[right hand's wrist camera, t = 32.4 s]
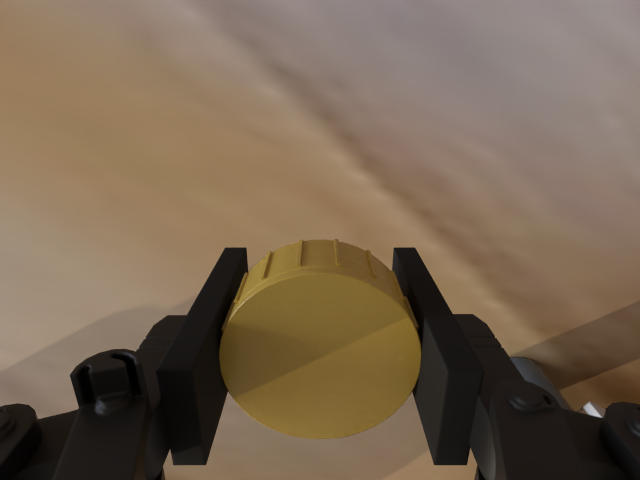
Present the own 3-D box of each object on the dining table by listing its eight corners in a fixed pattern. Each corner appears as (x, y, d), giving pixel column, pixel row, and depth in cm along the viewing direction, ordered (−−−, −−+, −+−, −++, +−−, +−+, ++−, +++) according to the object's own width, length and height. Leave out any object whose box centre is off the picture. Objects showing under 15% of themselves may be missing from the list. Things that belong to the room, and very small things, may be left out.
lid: (443, 320, 13) (467, 368, 10) (317, 412, 14) (316, 470, 12) (325, 199, 11) (326, 226, 9) (197, 315, 12) (173, 361, 10)
